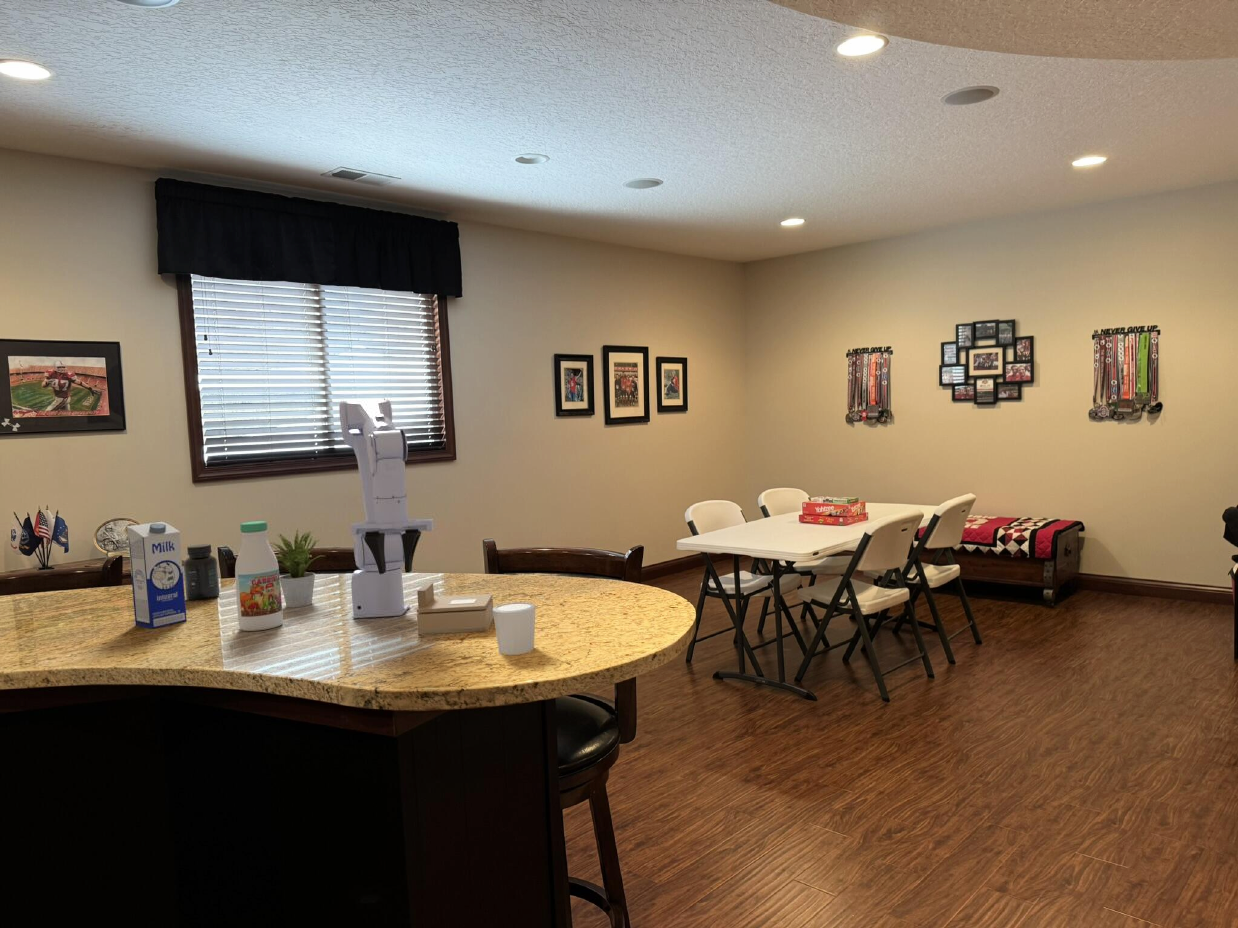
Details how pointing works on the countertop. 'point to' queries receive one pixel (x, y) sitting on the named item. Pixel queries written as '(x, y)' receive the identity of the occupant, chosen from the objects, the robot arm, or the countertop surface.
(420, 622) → the mailer
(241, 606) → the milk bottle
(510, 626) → the white cup
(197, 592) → the supplement bottle
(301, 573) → the house plant
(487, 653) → the countertop surface
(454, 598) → the lid
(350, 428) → the robot arm
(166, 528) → the milk carton
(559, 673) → the countertop surface
